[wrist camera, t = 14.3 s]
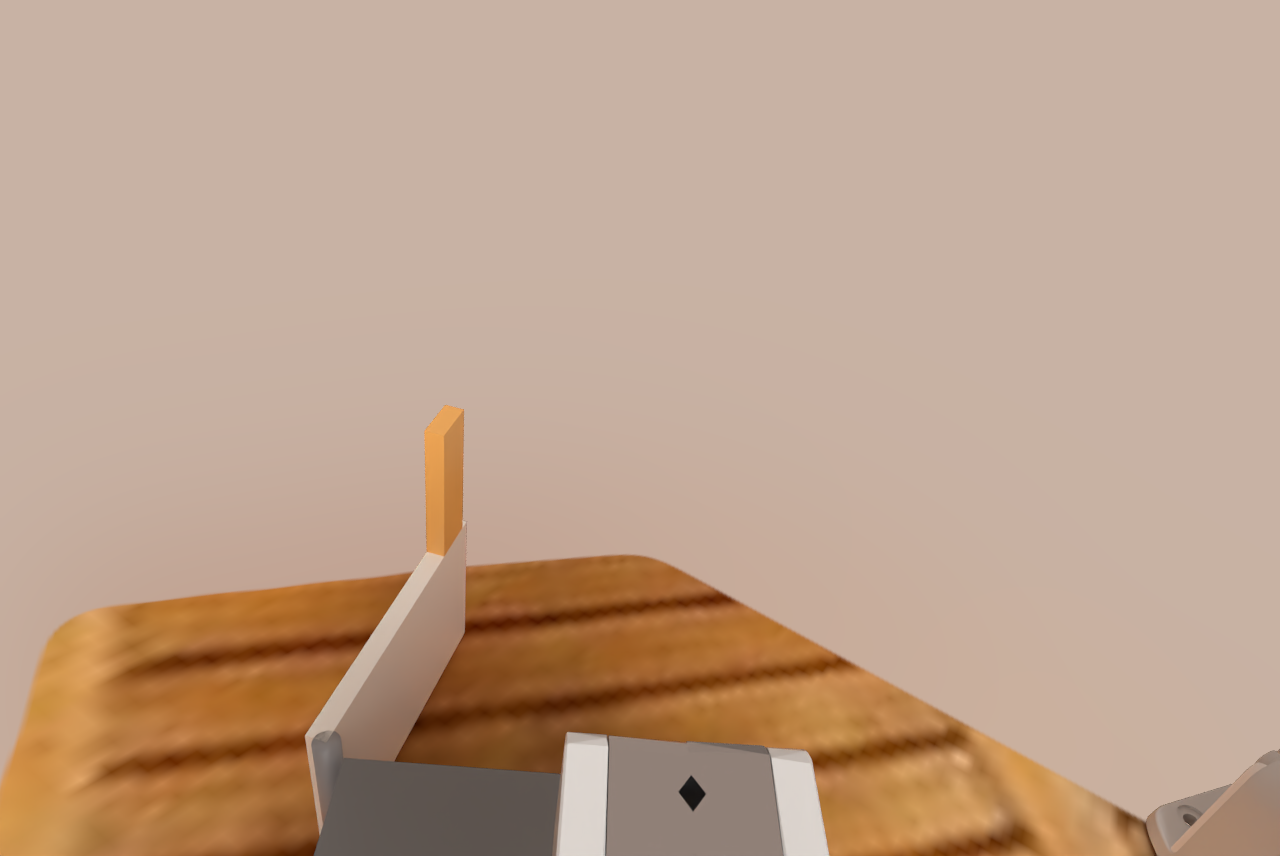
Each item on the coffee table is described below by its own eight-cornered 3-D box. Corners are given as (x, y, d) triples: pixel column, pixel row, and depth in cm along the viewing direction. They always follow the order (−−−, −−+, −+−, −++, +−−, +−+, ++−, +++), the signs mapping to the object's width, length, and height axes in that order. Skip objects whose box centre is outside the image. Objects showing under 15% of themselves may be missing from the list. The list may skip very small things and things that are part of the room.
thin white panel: (473, 635, 55) (479, 406, 45) (346, 873, 43) (315, 628, 33) (449, 628, 56) (450, 398, 46) (315, 862, 43) (276, 616, 33)
